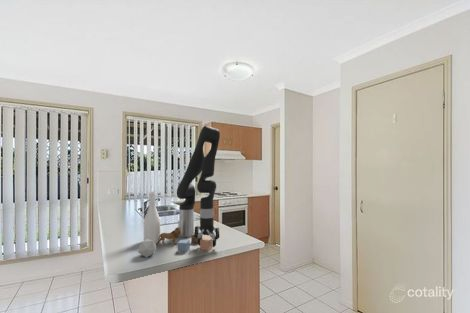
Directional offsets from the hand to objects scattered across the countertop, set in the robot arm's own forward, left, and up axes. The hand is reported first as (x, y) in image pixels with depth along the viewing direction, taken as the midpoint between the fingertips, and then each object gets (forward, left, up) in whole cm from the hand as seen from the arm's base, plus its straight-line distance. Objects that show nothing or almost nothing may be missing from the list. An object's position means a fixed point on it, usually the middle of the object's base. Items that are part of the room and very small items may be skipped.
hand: (206, 245), depth 132 cm
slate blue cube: (-10, -7, -1) cm, 13 cm away
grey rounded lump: (-24, -19, -2) cm, 31 cm away
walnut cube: (-10, +8, -1) cm, 13 cm away
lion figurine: (-24, 0, -2) cm, 24 cm away
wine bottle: (-36, 0, -1) cm, 36 cm away
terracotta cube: (0, 0, -1) cm, 2 cm away
